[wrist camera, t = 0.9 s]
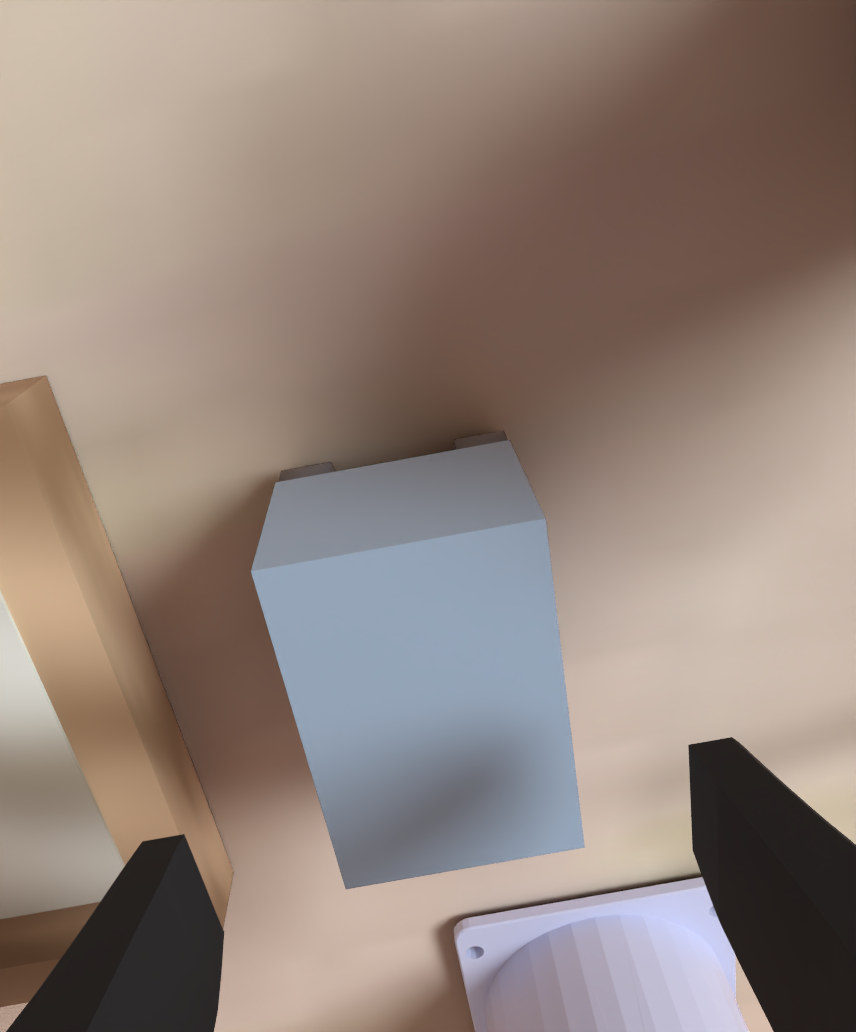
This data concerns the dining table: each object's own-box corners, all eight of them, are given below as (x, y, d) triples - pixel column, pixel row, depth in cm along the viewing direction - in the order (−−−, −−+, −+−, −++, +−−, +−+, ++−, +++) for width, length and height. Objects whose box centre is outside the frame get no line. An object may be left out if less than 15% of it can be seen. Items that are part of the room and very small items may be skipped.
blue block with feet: (534, 682, 20) (584, 847, 15) (351, 714, 20) (345, 889, 16) (497, 414, 17) (545, 518, 13) (283, 453, 17) (250, 571, 13)
